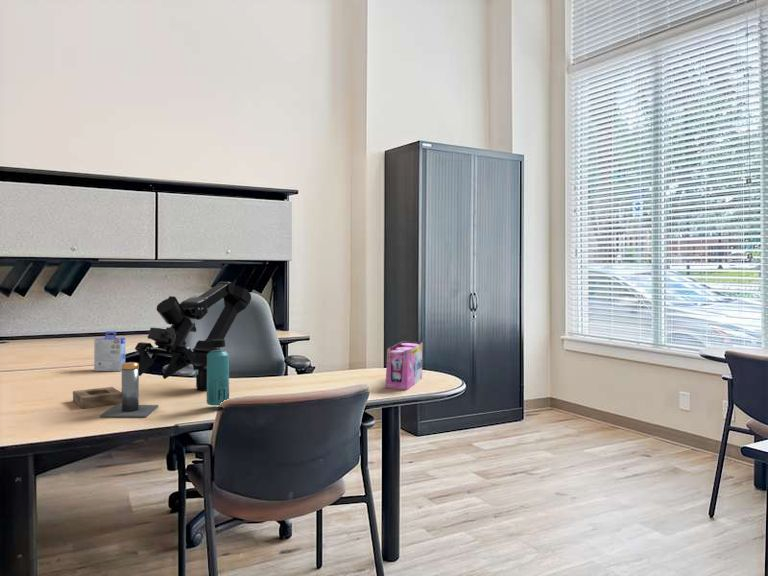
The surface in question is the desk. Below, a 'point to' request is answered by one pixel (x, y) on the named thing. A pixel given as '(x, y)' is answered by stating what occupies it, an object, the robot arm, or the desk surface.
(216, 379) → the beverage bottle
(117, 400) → the brown square frame
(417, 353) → the gum box
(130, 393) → the amber topped metal pillar
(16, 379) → the desk surface
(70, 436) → the desk surface
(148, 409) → the mat
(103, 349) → the ink cartridge box
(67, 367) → the desk surface
